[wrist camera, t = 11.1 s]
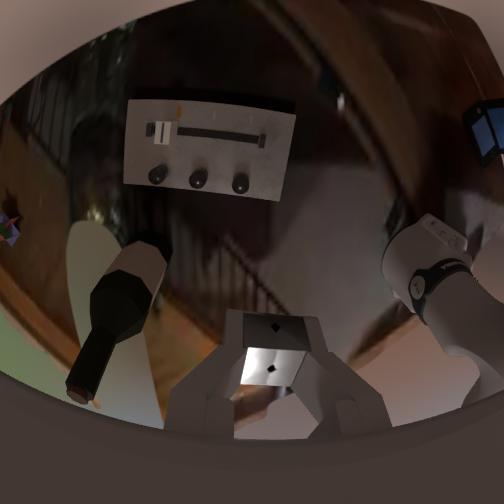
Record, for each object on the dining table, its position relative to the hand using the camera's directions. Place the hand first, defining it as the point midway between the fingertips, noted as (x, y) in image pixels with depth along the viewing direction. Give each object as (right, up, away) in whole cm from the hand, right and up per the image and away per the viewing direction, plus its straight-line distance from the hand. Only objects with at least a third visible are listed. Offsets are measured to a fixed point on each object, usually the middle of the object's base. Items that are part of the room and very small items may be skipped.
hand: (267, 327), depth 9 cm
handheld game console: (+46, +27, +26) cm, 59 cm away
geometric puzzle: (-51, +9, +33) cm, 62 cm away
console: (-7, +18, +29) cm, 35 cm away
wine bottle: (-18, +3, +37) cm, 42 cm away
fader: (-12, +19, +25) cm, 34 cm away
